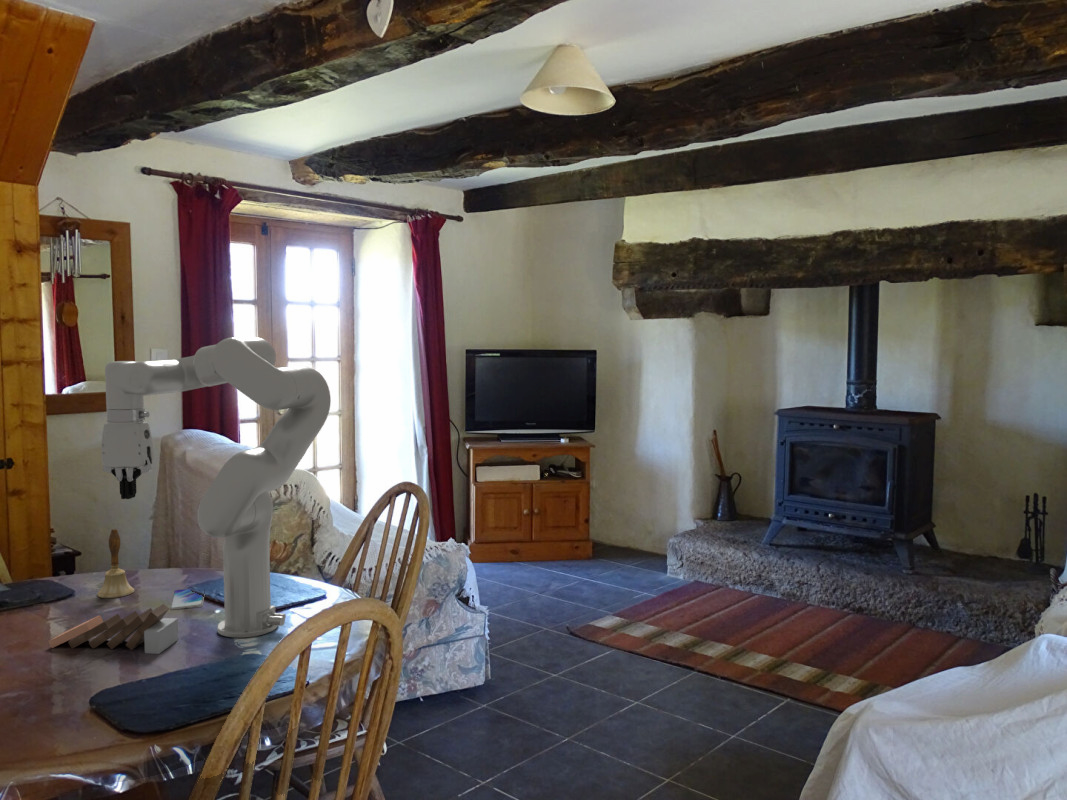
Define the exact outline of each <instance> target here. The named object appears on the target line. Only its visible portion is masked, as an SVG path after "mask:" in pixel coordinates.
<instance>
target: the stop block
mask: <svg viewBox="0 0 1067 800" xmlns="http://www.w3.org/2000/svg"><path fill="white" fill-rule="evenodd" d="M178 640H179V619H178V618H177V617H173V618H172V617H163V618H162V619H161V620H160V621H159V622H157V623H156V624H154V625H153V626H151V627H150V628H148V629H147V630H146V631H144V654H158V655H159V654H161V653H162V652H164V651H165V650H166V649H168V648H169V647H170V646H171V645H173V644H175V643H176V642H178Z"/></svg>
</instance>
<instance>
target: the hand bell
mask: <svg viewBox="0 0 1067 800" xmlns="http://www.w3.org/2000/svg"><path fill="white" fill-rule="evenodd" d="M108 548H109V552H110V554H111V559H110V562H111V563H110V569H109V570H108V571H106V572H104V573H105V574H104V580H103V584H102V587H101V589H100V590H98V591H97V593H96V596H97V598H101V599H102V598H103V599H115V598H122V597H126V596H128V595H131V594H133V593H134V592H135V588H134V587H132V586H131V585H130V583H129V581H128V580H127V576H126V575H127V574H126V571H125V570H124V569H121V568H120V565H119V552H120V549H121V537H120V534H119V531H118V528H111V531H110V534H109V538H108Z"/></svg>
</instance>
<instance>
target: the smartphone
mask: <svg viewBox="0 0 1067 800" xmlns="http://www.w3.org/2000/svg"><path fill="white" fill-rule="evenodd" d="M192 588H193V587H191V588H183V589H181V588H180V589H176V590H174V591H173V593H172V599H171V602H170V603H171V604H170V606H169V610H171V611H175V610H184V609H195V608H202V607H203V606H204V599H205V596H204V597H203V596H202V595H199V594H197V593H195V592H192V591H191V589H192Z"/></svg>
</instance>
